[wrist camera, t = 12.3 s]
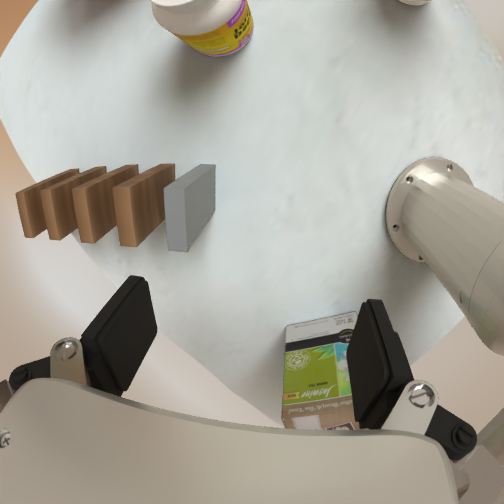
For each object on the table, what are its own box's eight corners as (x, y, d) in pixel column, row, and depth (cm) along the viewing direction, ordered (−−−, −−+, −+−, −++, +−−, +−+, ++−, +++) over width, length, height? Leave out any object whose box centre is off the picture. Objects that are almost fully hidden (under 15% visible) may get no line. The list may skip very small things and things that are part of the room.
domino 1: (78, 168, 29) (23, 192, 20) (83, 205, 32) (33, 238, 23) (70, 169, 29) (15, 193, 21) (75, 205, 32) (25, 237, 23)
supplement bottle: (250, 59, 23) (225, 18, 11) (185, 58, 23) (121, 27, 12) (258, 4, 20) (241, -60, 8) (194, 4, 20) (142, -48, 8)
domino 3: (137, 164, 29) (85, 188, 20) (141, 206, 31) (94, 243, 22) (126, 165, 29) (71, 189, 20) (129, 206, 31) (81, 242, 22)
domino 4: (174, 163, 28) (129, 187, 20) (176, 207, 31) (136, 247, 22) (161, 163, 28) (112, 187, 20) (163, 207, 31) (120, 245, 22)
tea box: (282, 324, 37) (278, 421, 24) (356, 308, 35) (382, 403, 21) (303, 387, 43) (303, 465, 30) (362, 375, 41) (376, 453, 28)
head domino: (215, 164, 28) (184, 188, 19) (215, 210, 30) (187, 252, 22) (200, 164, 28) (163, 188, 19) (201, 209, 30) (168, 250, 22)
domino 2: (106, 166, 29) (50, 190, 20) (110, 205, 31) (60, 240, 22) (95, 167, 29) (40, 191, 20) (100, 205, 31) (49, 239, 23)
